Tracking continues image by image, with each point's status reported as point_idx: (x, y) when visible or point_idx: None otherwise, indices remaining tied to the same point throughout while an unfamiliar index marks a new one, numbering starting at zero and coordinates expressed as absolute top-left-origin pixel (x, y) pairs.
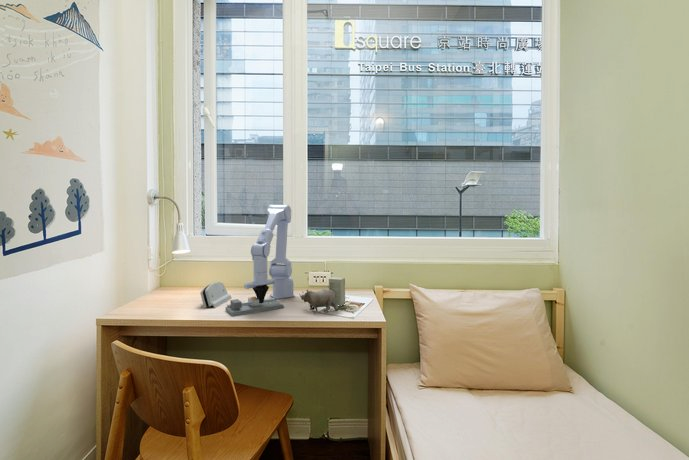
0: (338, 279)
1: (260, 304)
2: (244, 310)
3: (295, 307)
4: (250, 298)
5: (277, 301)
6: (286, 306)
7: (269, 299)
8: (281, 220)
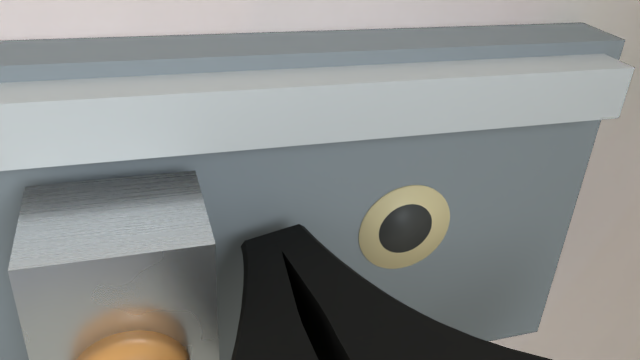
0: None
1: (276, 222)
2: None
3: (613, 320)
4: (59, 356)
5: (583, 165)
6: (577, 253)
7: (516, 126)
8: None
